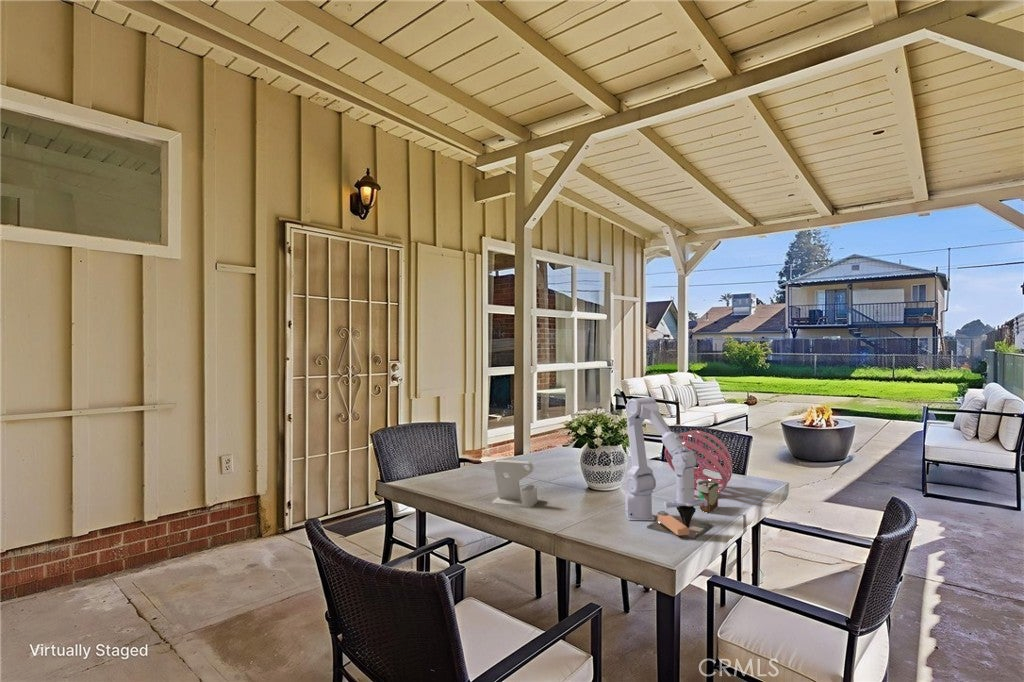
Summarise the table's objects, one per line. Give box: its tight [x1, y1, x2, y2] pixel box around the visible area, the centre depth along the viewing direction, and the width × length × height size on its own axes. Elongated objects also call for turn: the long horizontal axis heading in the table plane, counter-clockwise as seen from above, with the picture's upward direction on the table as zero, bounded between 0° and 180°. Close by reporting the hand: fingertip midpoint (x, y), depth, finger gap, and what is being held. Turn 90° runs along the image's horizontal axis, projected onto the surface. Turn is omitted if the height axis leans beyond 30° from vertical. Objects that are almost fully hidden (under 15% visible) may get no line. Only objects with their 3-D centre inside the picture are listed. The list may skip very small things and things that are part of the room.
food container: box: [695, 480, 720, 514], centre depth 197 cm, size 12×6×10 cm, turn 141°
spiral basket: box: [664, 430, 733, 499], centre depth 216 cm, size 28×28×27 cm
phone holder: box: [492, 459, 539, 508], centre depth 210 cm, size 17×10×18 cm, turn 71°
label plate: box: [646, 514, 713, 540], centre depth 178 cm, size 16×17×1 cm
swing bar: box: [657, 510, 689, 536], centre depth 175 cm, size 17×4×3 cm, turn 9°
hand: (686, 528), depth 171 cm, fingers closed
